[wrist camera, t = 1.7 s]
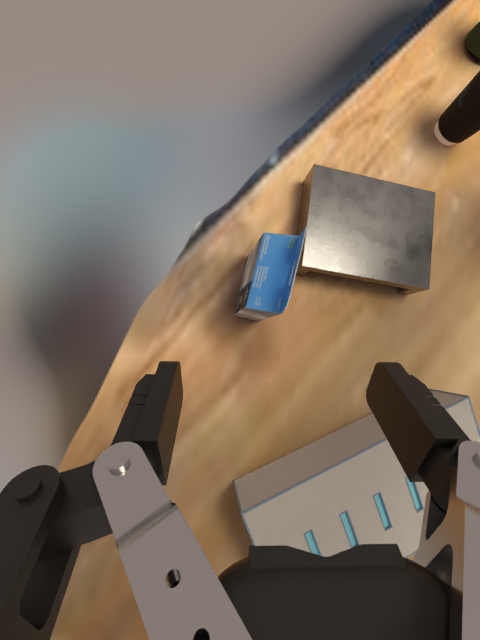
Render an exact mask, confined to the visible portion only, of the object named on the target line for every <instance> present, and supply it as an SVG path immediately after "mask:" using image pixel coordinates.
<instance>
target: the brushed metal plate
mask: <svg viewBox="0 0 480 640" xmlns="http://www.w3.org/2000/svg"><path fill="white" fill-rule="evenodd" d="M434 204H435V192H430V191H426V190H422V189H418V188H413V187H409V186H405V185H401V184H396V183H392V182H388V181H384V180H379V179H375V178H371V177H367V176H362V175H358V174H354V173H350V172H345V171H341V170H337V169H332V168H328V167H324V166H320V165H315V164H314V165H313V167H312V169H311V170H310V172H309V173H308V175H307V176H306V178H305V180H304V181H303V188H302V196H301V204H300V213H299V221H298V229H297V236H300V234H301V233H302V231H303V230H304V229H305V227H307V229H306V233H305V238H304V242H303V247H302V251H301V256H300V260H299V264H298V268H297V272H296V275H304V274H305V273H307V272H308V271H312V272H318V273H323V274H329V275H334V276H340V277H345V278H351V279H356V280H361V281H367V282H372V283H378V284H383V285H389V286H394V287H399V291H398V293H401V294H407V295H408V294H412V293H416V292H420V291H424V290H428V289H429V283H430V267H431V251H432V236H433V220H434ZM295 263H296V260H295ZM294 266H295V264H294ZM293 272H294V269H293ZM292 274H293V273H292Z"/></svg>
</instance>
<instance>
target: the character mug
mask: <svg viewBox="0 0 480 640" xmlns="http://www.w3.org/2000/svg"><path fill="white" fill-rule="evenodd" d="M466 46H467V49H468V50H469V51H470V52H471V53H472V54H474V55H475V56H476V57H477V58H479V59H480V22H479V23H478V24H477V25H476V26H475V27H474V28H473V29H472V30H471V31H470V32H469V33H468V34H467V37H466Z"/></svg>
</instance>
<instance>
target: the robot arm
mask: <svg viewBox="0 0 480 640" xmlns="http://www.w3.org/2000/svg"><path fill="white" fill-rule="evenodd" d="M366 398H367V402H368V405H369V407H370V409H371V411H372V412H373V414H374V416H375V418H376V420H377V422H378V424H379V425H380V427H381V429H382V431H383V433H384V435H385V437H386V438H387V440H388V442H389V444H390V446H391V448H392V450H393V451H394V453H395V455H396V457H397V459H398V461H399V463H400V464H401V466H402V468H403V470H404V472H405V474H406V476H407V477H408V479H409V481H410V482H424V483H425V485H426V487H427V488H428V490H429V491H428V492H427V495H426V500H425V508H424V515H423V522H422V529H421V536H420V542H419V547H418V550H417V552H416V555H415V557H414V560H413V561H412V560H409V559H407V558H405V557H403V556H402V554H401V552H400V549H399V547H398V545H397V544H361V545H358V546H355V547H353V548H350V549H347V550H345V551H342V552H340V553H337V554H334V555H332V556H328V557H324V556H320V555H317V554H314V553H310V552H307V551H303V550H300V549H297V548H293V547H290V546H287V545H279V546H249V554H248V557H247V558H245V559H242V560H240V561H238V562H236V563H234V564H232V565H231V566H230V567H228V568H227V569H226V570H224V571H223V572H222V573H221V574H220V575H219V576H218V577H217V575H216V573H215V572H214V570H213V568H212V566H211V565H210V563H209V561H208V559H207V557H206V556H205V554H204V552H203V550H202V548H201V547H200V545H199V543H198V541H197V539H196V538H195V536H194V534H193V532H192V531H191V529H190V527H189V525H188V523H187V522H186V520H185V518H184V516H183V514H182V513H181V511H180V509H179V508H178V506H177V505H176V504H175V503H172V502H171V501H170V499H169V497H168V496H167V494H166V492H165V490H164V488H163V486H162V485H166V483H167V478H168V473H169V468H170V463H171V458H172V453H173V448H174V443H175V438H176V433H177V428H178V423H179V418H180V413H181V407H182V401H183V387H182V377H181V367H180V362H178V361H161V362H160V363H159V365H158V368H157V371H156V374H146V375H145V376H144V377H143V378H142V379H141V380H140V381H139V382H138V383H137V384H136V386H135V389H134V391H133V394H132V397H131V399H130V401H129V403H128V406H127V408H126V411H125V413H124V416H123V418H122V420H121V423H120V425H119V428H118V430H117V433H116V435H115V437H114V440H113V442H112V444H111V446H110V447H108V448H107V449H106V450H104V451H103V452H102V453H101V454H100V455H99V457H98V458H97V459H96V460H95V461H93V462H91V463H89V464H87V465H84V466H81V467H78V468H75V469H71V470H68V471H65V472H61V473H58V471H57V470H56V469H55V468H54V467H52V466H48V465H42V466H36V467H33V468H30V469H28V470H26V471H24V472H22V473H20V474H19V475H17V476H16V477H15V478H13V479H12V480H11V481H10V482H9V483H8V484H7V485H6V487H5V488H4V489H3V490H2V492H1V493H0V640H50V637H51V634H52V631H53V628H54V625H55V622H56V619H57V616H58V613H59V610H60V607H61V604H62V601H63V598H64V595H65V592H66V589H67V586H68V583H69V580H70V577H71V574H72V571H73V568H74V565H75V562H76V559H77V556H78V553H79V550H80V547H81V545H83V544H85V543H88V542H91V541H93V540H96V539H98V538H101V537H104V536H106V535H109V534H112V533H113V534H114V537H115V540H116V543H117V548H118V551H119V554H120V557H121V560H122V563H123V566H124V569H125V571H126V574H127V577H128V580H129V583H130V586H131V589H132V591H133V594H134V597H135V600H136V603H137V606H138V608H139V611H140V614H141V617H142V620H143V623H144V626H145V628H146V631H147V634H148V637H149V640H480V442H477V441H471V440H470V439H469V437H468V436H467V435H466V434H465V433H464V431H463V430H462V429H461V428H460V426H459V425H458V424H457V423H456V422H455V420H454V419H453V418H452V417H451V416H450V414H449V413H448V412H447V411H446V410H445V408H444V407H443V406H441V403H440V402H439V401H438V400H437V399H436V397H433V394H432V393H431V391H430V390H429V389H428V388H427V387H426V385H425V384H423V383H422V382H421V381H419V380H418V379H417V378H415V377H414V376H412V375H409V374H408V373H407V372H406V371H405V369H404V368H403V367H402V365H401V364H399V363H397V362H379V363H377V364H376V365H375V368H374V370H373V373H372V376H371V379H370V382H369V385H368V387H367V391H366Z"/></svg>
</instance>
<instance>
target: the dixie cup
mask: <svg viewBox="0 0 480 640" xmlns="http://www.w3.org/2000/svg"><path fill="white" fill-rule="evenodd" d="M479 130H480V71H479V72H478V74H477V75H476V76H475V77H474V78H473V79H472V80H471V82H470V83H469V84H468V85H467V86H466V87H465V89H464V90H463V91H462V92H461V93H460V94H459V95H458V97H457V98H456V99H455V100H454V101H453V102H452V103H451V105H450V106H449V107H448V108H447V109H446V110H445V111H444V113H443V114H442V115H441V116H440V118H439V120H438V121H437V123H436V124H435V127H434V132H435V136H436V138H437V139H438V140H439V142H441V143H442V144H444V145H446V146H453V145H455V144H457V143H460V142H462V141H464V140H465V139H467V138H468V137H470V136H472V135H473V134H475V133H476V132H478V131H479Z"/></svg>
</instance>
